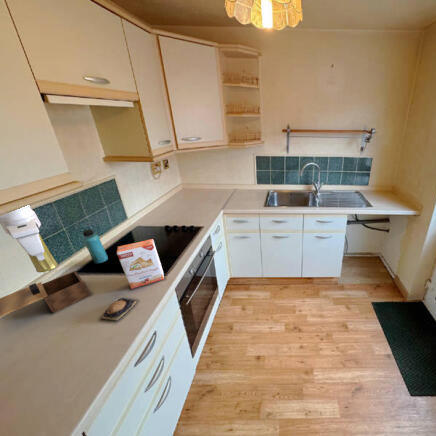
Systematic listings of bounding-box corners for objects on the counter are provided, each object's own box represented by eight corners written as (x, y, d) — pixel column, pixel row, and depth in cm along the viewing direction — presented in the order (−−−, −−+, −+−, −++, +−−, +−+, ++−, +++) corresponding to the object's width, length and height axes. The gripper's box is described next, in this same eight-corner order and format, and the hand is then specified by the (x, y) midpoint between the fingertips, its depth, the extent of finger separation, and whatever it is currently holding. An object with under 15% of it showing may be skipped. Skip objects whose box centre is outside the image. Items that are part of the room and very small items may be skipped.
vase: (61, 262, 94) (45, 232, 87) (49, 272, 88) (31, 240, 82) (45, 263, 93) (27, 233, 87) (32, 273, 87) (12, 241, 81)
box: (53, 313, 94) (43, 298, 91) (46, 299, 101) (37, 285, 98) (90, 295, 103) (83, 281, 100) (82, 283, 110) (75, 270, 107)
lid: (0, 316, 83) (-5, 310, 81) (-3, 301, 89) (-8, 295, 88) (47, 296, 92) (44, 290, 90) (41, 283, 98) (38, 277, 97)
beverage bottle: (111, 257, 129) (97, 226, 121) (106, 264, 124) (92, 232, 115) (97, 260, 127) (83, 228, 119) (92, 267, 122) (76, 234, 113)
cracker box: (131, 290, 106) (115, 252, 97) (131, 282, 111) (117, 246, 102) (164, 279, 112) (152, 243, 103) (164, 273, 117) (152, 237, 108)
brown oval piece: (117, 322, 90) (114, 315, 88) (99, 318, 92) (96, 312, 90) (138, 301, 99) (136, 295, 98) (122, 299, 101) (119, 292, 99)
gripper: (7, 219, 86) (25, 250, 92) (11, 236, 74) (32, 270, 80) (31, 214, 90) (47, 243, 96) (38, 229, 78) (56, 262, 84)
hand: (40, 256), depth 88 cm, fingers closed on vase, 5 cm apart
